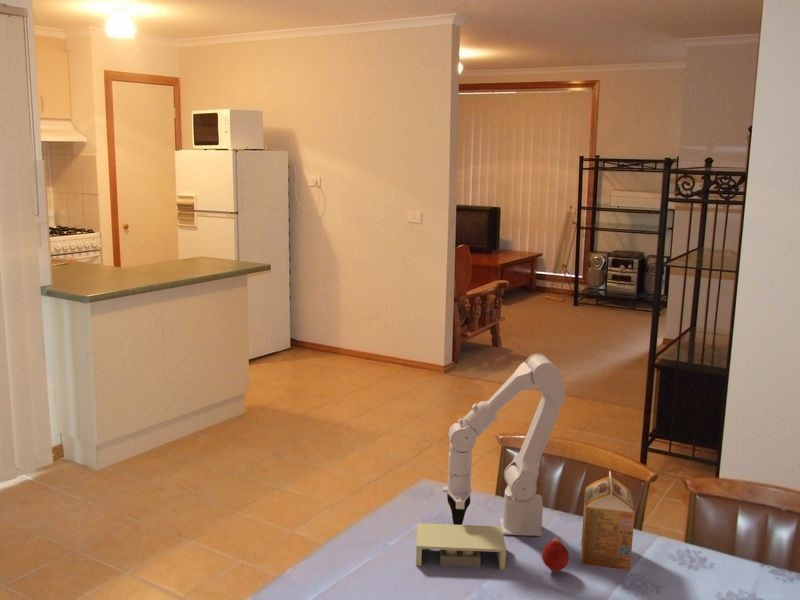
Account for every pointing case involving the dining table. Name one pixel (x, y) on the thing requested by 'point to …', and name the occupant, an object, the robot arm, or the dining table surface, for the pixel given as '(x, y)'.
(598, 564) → the milk carton
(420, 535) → the bench
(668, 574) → the dining table surface
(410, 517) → the dining table surface
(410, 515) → the dining table surface
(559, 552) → the onion
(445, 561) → the tray
